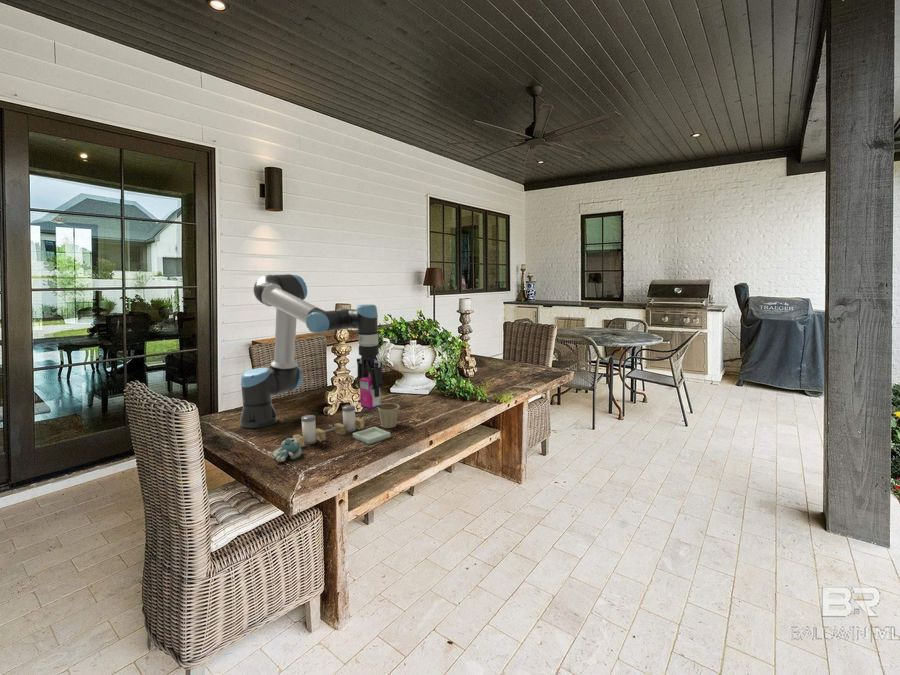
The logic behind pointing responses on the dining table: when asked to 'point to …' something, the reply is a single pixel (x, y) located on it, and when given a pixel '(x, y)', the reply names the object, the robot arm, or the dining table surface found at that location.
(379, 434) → the tray
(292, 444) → the stuffed animal
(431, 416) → the dining table surface
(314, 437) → the cylinder
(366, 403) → the supplement box
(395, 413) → the flower pot
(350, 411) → the grey capped shaker
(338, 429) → the clip rail
